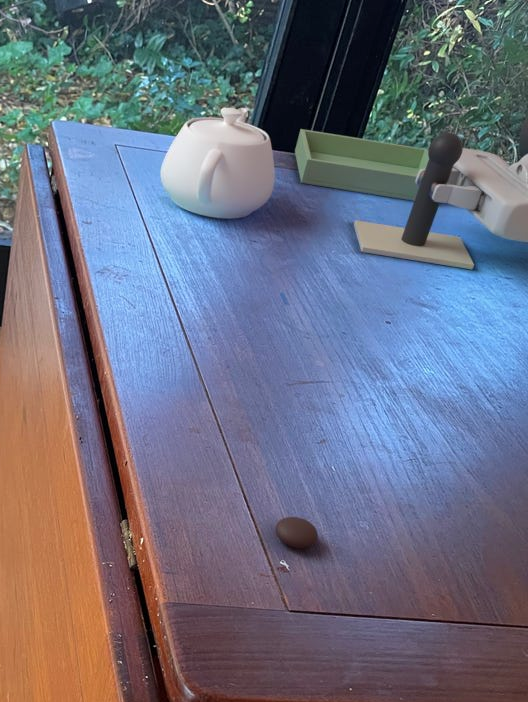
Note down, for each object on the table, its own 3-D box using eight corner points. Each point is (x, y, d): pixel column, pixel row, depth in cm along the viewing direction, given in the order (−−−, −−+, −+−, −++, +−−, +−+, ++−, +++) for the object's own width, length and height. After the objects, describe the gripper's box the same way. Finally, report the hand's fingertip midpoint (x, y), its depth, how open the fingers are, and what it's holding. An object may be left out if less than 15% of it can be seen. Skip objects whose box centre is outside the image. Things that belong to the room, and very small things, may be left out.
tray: (420, 171, 142) (428, 149, 140) (436, 204, 132) (445, 181, 130) (294, 151, 143) (300, 128, 141) (301, 183, 132) (307, 159, 130)
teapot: (252, 245, 113) (277, 144, 106) (136, 218, 115) (153, 118, 108) (279, 189, 129) (303, 98, 122) (178, 167, 131) (195, 76, 124)
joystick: (458, 241, 122) (501, 130, 113) (472, 269, 115) (519, 154, 107) (353, 224, 122) (388, 113, 114) (361, 252, 116) (398, 135, 107)
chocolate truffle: (266, 542, 70) (272, 524, 69) (281, 523, 72) (287, 505, 71) (305, 559, 69) (312, 541, 68) (320, 539, 71) (326, 521, 70)
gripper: (508, 137, 121) (402, 127, 119) (592, 197, 106) (472, 187, 104) (487, 191, 126) (384, 182, 123) (565, 255, 111) (449, 246, 109)
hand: (425, 184), depth 114 cm, fingers closed on joystick, 3 cm apart
